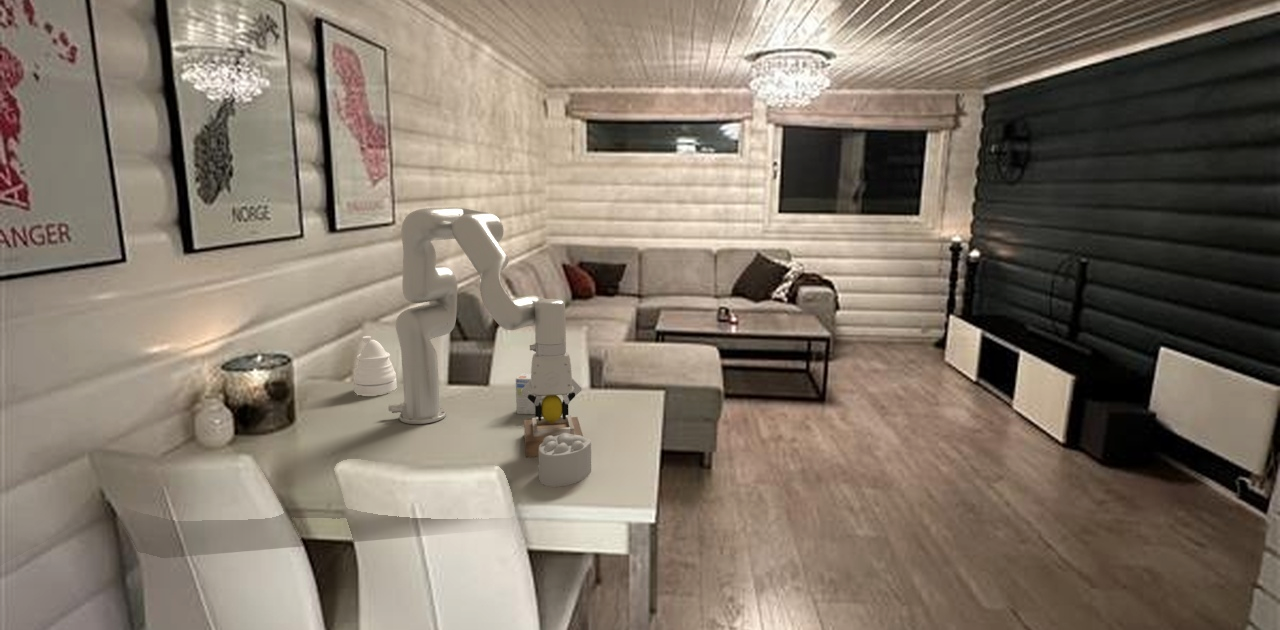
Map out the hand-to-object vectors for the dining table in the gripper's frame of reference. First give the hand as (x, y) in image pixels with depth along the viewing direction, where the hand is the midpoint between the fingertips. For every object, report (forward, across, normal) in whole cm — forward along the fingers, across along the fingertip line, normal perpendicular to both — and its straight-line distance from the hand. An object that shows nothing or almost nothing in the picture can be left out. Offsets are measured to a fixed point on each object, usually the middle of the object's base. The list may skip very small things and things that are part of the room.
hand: (551, 417), depth 175 cm
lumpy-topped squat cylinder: (+7, +1, -20) cm, 21 cm away
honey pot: (+7, -53, +57) cm, 78 cm away
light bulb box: (+7, -3, +27) cm, 28 cm away
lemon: (+2, 0, 0) cm, 2 cm away
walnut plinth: (+7, 0, 0) cm, 7 cm away
